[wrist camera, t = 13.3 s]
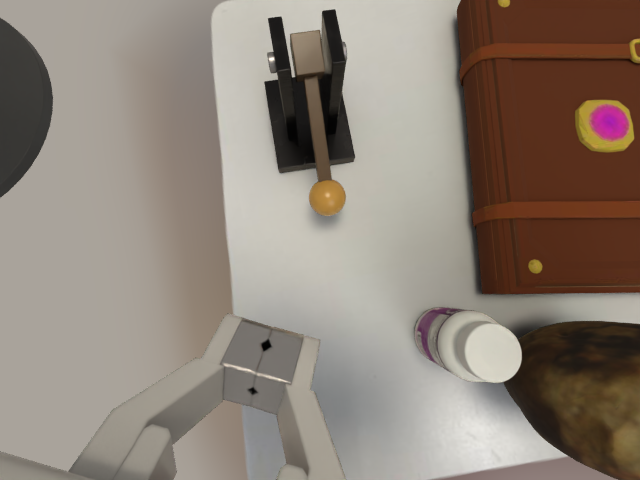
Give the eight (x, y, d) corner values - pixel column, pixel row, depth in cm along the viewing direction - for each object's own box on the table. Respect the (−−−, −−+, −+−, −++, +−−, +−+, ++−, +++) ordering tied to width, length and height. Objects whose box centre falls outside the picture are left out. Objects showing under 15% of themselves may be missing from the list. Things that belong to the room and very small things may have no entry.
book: (640, 20, 37) (689, -21, 32) (693, 291, 32) (761, 291, 27) (449, 19, 37) (470, -23, 32) (472, 293, 32) (502, 294, 27)
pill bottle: (473, 319, 32) (543, 331, 22) (456, 371, 31) (521, 407, 21) (422, 298, 32) (469, 301, 22) (404, 349, 31) (445, 375, 21)
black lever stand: (353, 161, 34) (374, 94, 22) (279, 173, 34) (261, 110, 22) (336, 78, 35) (348, -27, 24) (265, 88, 35) (242, -13, 23)
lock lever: (344, 209, 30) (350, 215, 27) (310, 215, 29) (313, 222, 26) (322, 41, 26) (327, 26, 23) (284, 47, 26) (283, 32, 23)
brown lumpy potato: (473, 415, 30) (778, 654, 10) (457, 324, 31) (701, 382, 12) (607, 397, 31) (1145, 594, 11) (586, 309, 32) (1032, 339, 12)
